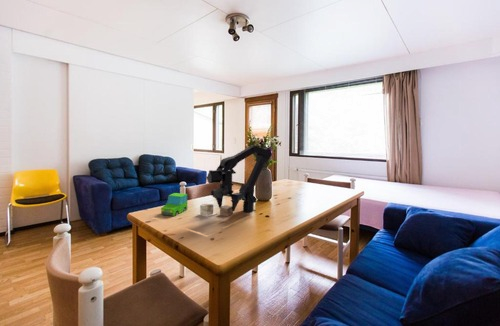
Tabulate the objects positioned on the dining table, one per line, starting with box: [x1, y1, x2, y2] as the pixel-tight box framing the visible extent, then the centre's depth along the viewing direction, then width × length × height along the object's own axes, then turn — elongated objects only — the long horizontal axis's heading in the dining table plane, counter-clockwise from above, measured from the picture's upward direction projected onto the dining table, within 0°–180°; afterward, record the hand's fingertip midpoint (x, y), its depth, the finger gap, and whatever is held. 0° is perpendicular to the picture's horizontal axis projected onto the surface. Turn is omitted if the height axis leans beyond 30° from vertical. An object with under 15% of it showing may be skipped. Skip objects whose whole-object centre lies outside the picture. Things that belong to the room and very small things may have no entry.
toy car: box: [160, 192, 188, 217], centre depth 131 cm, size 10×13×10 cm
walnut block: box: [219, 204, 234, 217], centre depth 130 cm, size 5×5×5 cm
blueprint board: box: [198, 212, 217, 218], centre depth 131 cm, size 14×10×1 cm
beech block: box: [199, 202, 214, 217], centre depth 130 cm, size 5×5×5 cm
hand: (226, 209), depth 130 cm, fingers open, 9 cm apart
